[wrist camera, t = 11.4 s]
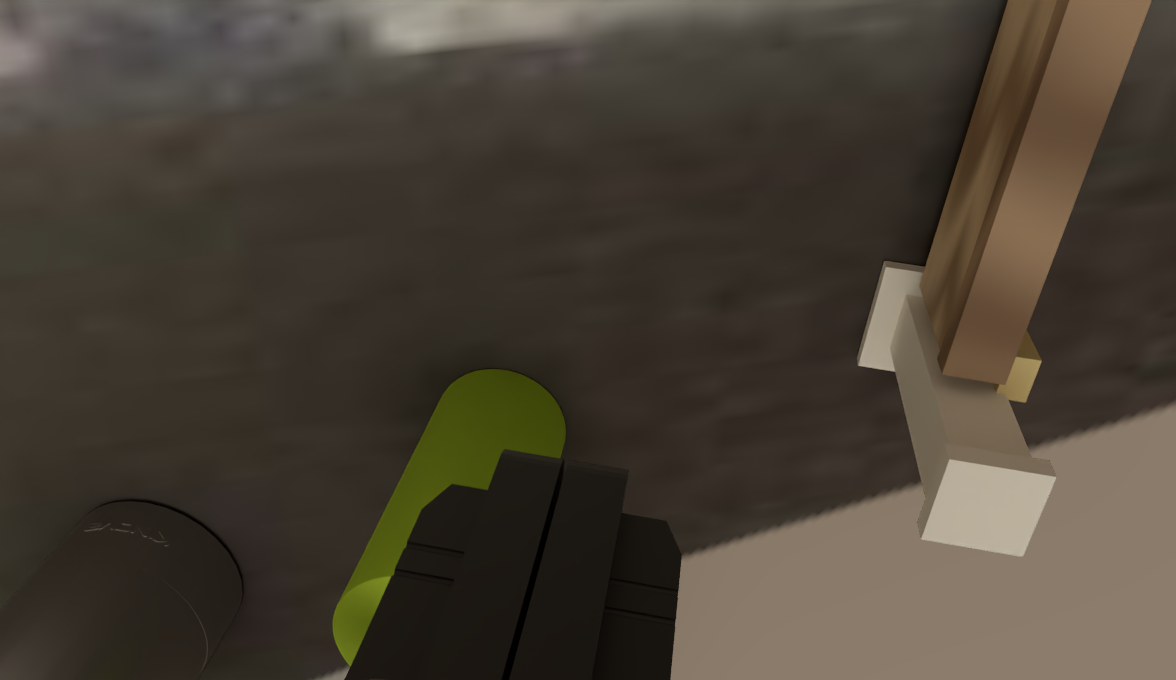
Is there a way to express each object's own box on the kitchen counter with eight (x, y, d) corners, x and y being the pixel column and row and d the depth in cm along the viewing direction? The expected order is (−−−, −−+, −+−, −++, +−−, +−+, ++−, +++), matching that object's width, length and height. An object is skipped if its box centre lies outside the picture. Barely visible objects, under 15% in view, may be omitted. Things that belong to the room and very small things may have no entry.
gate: (967, 294, 38) (1005, 385, 32) (913, 285, 38) (941, 374, 32) (1123, -166, 30) (1209, -152, 24) (1055, -175, 30) (1124, -163, 24)
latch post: (966, 375, 40) (1038, 578, 30) (856, 358, 41) (891, 552, 30) (1003, 268, 38) (1095, 449, 28) (886, 251, 38) (935, 423, 28)
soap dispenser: (459, 331, 43) (260, 707, 25) (591, 417, 44) (487, 833, 27) (394, 419, 46) (176, 813, 28) (521, 499, 47) (386, 922, 29)
